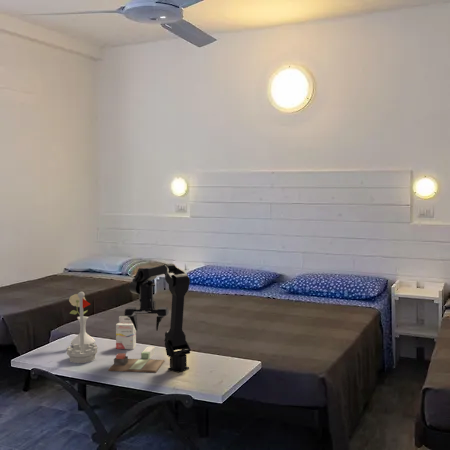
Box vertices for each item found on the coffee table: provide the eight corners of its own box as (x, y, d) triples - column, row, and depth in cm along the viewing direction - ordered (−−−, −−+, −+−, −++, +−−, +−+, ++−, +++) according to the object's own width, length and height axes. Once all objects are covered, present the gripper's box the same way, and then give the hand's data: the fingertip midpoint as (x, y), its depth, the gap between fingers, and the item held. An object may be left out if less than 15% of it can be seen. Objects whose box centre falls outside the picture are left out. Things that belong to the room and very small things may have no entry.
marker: (147, 353, 257) (147, 346, 257) (154, 353, 256) (154, 346, 256) (141, 360, 246) (141, 353, 246) (148, 360, 245) (148, 353, 245)
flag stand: (60, 361, 245) (59, 292, 244) (81, 353, 257) (79, 288, 255) (83, 365, 239) (82, 295, 238) (103, 357, 251) (102, 290, 249)
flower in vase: (99, 343, 273) (99, 292, 272) (87, 350, 263) (86, 296, 261) (76, 341, 277) (75, 291, 276) (63, 347, 267) (61, 295, 265)
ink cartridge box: (115, 349, 264) (115, 318, 263) (118, 346, 269) (118, 315, 268) (133, 349, 263) (133, 318, 262) (136, 346, 268) (135, 316, 267)
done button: (125, 359, 239) (125, 353, 239) (123, 361, 236) (123, 355, 236) (118, 358, 240) (118, 353, 240) (116, 360, 237) (116, 355, 237)
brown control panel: (164, 361, 244) (164, 353, 243) (156, 372, 229) (155, 364, 228) (119, 360, 246) (119, 352, 246) (108, 370, 231) (108, 362, 231)
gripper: (170, 292, 257) (171, 326, 257) (130, 292, 258) (131, 326, 259) (165, 297, 245) (166, 332, 246) (123, 296, 247) (124, 332, 248)
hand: (147, 330), depth 250 cm, fingers open, 9 cm apart
